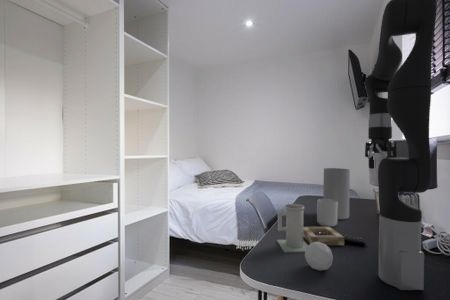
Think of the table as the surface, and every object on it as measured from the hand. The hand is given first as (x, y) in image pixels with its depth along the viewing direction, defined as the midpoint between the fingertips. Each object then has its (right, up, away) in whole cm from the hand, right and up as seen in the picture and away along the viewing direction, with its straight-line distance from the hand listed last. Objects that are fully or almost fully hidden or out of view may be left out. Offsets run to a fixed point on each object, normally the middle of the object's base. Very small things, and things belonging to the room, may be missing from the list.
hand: (379, 169), depth 92 cm
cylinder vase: (0, -28, +36) cm, 46 cm away
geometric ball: (-31, -28, -20) cm, 46 cm away
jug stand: (-21, -28, +3) cm, 35 cm away
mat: (-33, -28, -4) cm, 43 cm away
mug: (-9, -28, +24) cm, 38 cm away
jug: (-35, -27, -4) cm, 44 cm away
